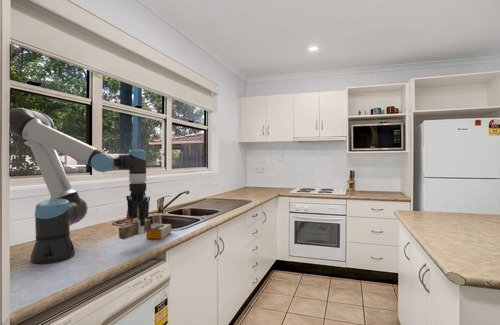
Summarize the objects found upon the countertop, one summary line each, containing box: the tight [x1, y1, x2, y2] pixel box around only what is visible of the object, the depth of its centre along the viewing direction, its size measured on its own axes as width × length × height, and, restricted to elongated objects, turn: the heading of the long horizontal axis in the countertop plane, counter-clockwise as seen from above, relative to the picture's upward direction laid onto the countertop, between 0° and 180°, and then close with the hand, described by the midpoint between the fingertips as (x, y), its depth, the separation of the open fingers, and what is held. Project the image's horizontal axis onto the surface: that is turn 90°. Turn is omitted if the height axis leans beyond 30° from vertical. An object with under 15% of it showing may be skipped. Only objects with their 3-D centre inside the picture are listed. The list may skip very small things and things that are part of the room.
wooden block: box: [118, 218, 165, 240], centre depth 139 cm, size 23×6×5 cm, turn 153°
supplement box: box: [145, 223, 172, 240], centre depth 153 cm, size 8×5×13 cm
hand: (138, 232), depth 137 cm, fingers closed on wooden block, 3 cm apart
